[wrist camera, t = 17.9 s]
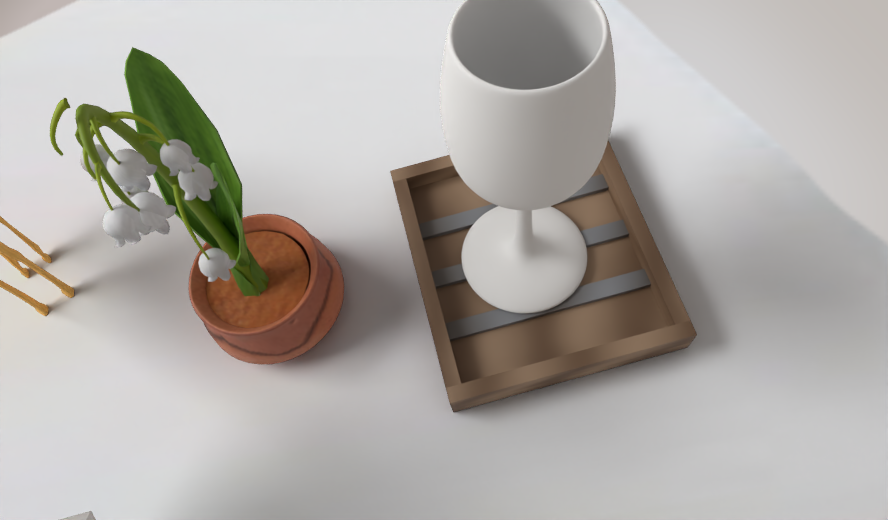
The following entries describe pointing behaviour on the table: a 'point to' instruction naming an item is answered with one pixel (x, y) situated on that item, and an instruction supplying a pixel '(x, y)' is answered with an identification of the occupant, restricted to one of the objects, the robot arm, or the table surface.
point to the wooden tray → (551, 331)
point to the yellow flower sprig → (15, 256)
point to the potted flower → (209, 219)
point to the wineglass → (526, 138)
